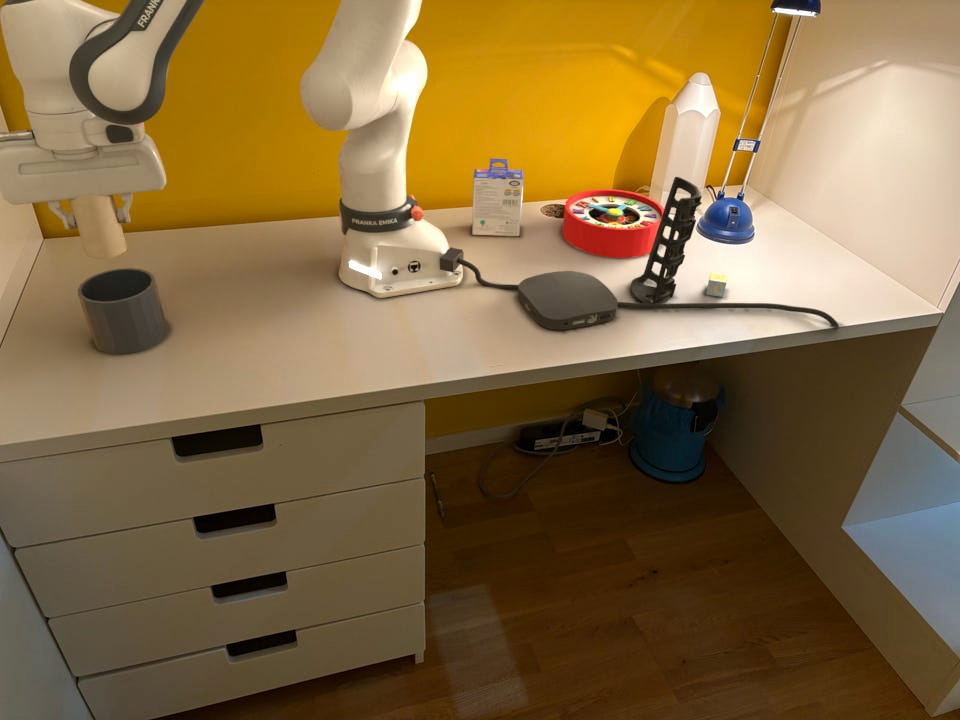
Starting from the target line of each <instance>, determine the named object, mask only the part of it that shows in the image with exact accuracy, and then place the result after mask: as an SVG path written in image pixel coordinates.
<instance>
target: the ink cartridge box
mask: <svg viewBox="0 0 960 720" xmlns="http://www.w3.org/2000/svg"><path fill="white" fill-rule="evenodd" d="M497 163H499V164H504V166H493V164H497ZM488 166H489V167H488V168H486V169H485V168H474V171H473V177H472V178H473V179H472V180H473V181H472V225H471V226H472V228H471V235H474V236H500V237H501V236H502V237H503V236H504V237H519V236H520V234H521V233H520V231H521V223H522V211H523V198H524V196H523V194H524V173H523V169H509V159H508V158H489V165H488Z"/></svg>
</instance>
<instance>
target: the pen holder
mask: <svg viewBox="0 0 960 720" xmlns="http://www.w3.org/2000/svg"><path fill="white" fill-rule="evenodd" d="M77 296H78V299H79V302H80V305H81V308H82V311H83V314H84V317H85V320H86V322H87V326H88V329H89V332H90V334H91V338H92V341H93V343H94V345H95V347H96V348H97V349H98V350H99V351H101V352H103V353H106V354H111V355H112V354H113V355H129V354H135V353H138V352H142V351H145V350H147V349H150V348H152V347H154V346H156V345H157V344H159V343H160V342H162V341H163V339H164V338H165V337H166V336H167V334H168V324H167V319H166V316H165V312H164V309H163V305H162V301H161V297H160V293H159V289H158V286H157V282H156V279H155V276H154V274H152V273H151V272H150V271H148V270H145V269H141V268H135V267H124V268H123V267H122V268H115V269H110V270H105V271H102V272H99V273H96V274H93V275H92V276H90V277H88V278H86V279H85V280H84V281H83V282H81V283H80V284H79V286H78V288H77Z"/></svg>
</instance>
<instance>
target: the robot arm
mask: <svg viewBox="0 0 960 720" xmlns="http://www.w3.org/2000/svg"><path fill="white" fill-rule="evenodd" d="M205 1H206V0H129V1H128V3H127V4H126V6H125V7H124V9H123V11H122V12H121V13H117V12H113V11H110V10H106V9H103V8H100V7H98V6H95V5H94V4H90V3H88V2H86V1H83V0H5V1H4V2H3V4H2V6H1V7H0V27H1V31H2V37H3V40H4V45H5V49H6V52H7V55H8V59H9V62H10V65H11V69H12V72H13V74H14V76H15V78H17V80H18V82H19V83H20V86H21V88H22V91H23V92H22V93H23V105H24V108H25V112H26V115H27V118H28V122H29V124H30V127H31V129H21V130H15V131H0V192H1V195H2V198H3V199H4V200H5V201H6V202H8V203H9V204H11V205H13V206H17V205H26V204H27V205H28V204H35V203H36V204H37V203H47V206H48V209H49V210H50V211H51V212H52V213H54V214H55V215H56V216H57V217H58V218H59V219H60V220H61V221H62V224H63V226H64V229H65V230H66V231H67V230H68V231H69V230H74V229H78V227H77V224H76V221H75V218H74V215H73V212H68V211H67V210H66V209H65V208H64V207H63V206H62V201H66V200H68V201H69V199H76V198H78V197H80V196H82V195H98V196H108V195H113V196H117V195H120V199H121V201H122V202H123V205H122V207H116V208H117V212H116V214H117V218H118V221H119V224H121V225H122V224H129V223H130V224H131V215H130V209H131V206H132V204H133V200H134V194H137V193H148V192H156V191H163V190H164V188H165V186H166V185H167V181H168V180H167V174H166V169H165V167H164V163H163V160H162V157H161V155H160V152H159V149H158V147H157V145H156V143H155V141H154V140H153V138H152V137H151V136H150V135H149V134H147V133H146V130H145V129H146V127H145V122H147V121H149V120H151V119H152V118H153V117H154V116H155V115H157V113H159V111H160V109H161V108H162V106H163V103H164V101H165V98H166V97H165V95H166V89H167V79H168V75H169V69H170V65H171V64H170V63H171V60H172V57H173V54H174V52H175V51H176V49H177V47H178V45H179V44H180V42H181V40H182V39H183V37H184V35H185V34H186V33H187V31H188V29H189V27H190V25H191V24H192V22H193V21H194V20H195V17H196V16H197V14H198V13H199V11H200V9H201V8H202V6H203V5H204V3H205ZM422 4H423V0H340V3H339V6H338V9H337V11H336V14H335V17H334V18H333V21H332V24H331V27H330V28H329V31H328V33H327V36H326V38H325V40H324V42H323V45H322V46H321V49H320V51H319V52H318V54H317V55H316V58H315V59H314V61H313V62H312V63H311V64H310V65H309V67H308V68H307V69H306V70H305V72H304V73H302V74H303V75H302V77H301V79H300V82H299V83H300V84H299V94H300V95H299V96H300V100H301V105H302V106H303V109H304V111H305V112H306V114H307V116H308V117H309V118H310V120H311V121H312V122H313V123H314V124H315V125H317V126H318V127H320V128H321V129H323V130H326V131H329V132H330V131H331V132H339V131H347V130H348V132H347V135H346V138H345V140H344V142H342V143H343V144H342V145H341V147H340V150H339V153H338V157H337V161H338V163H337V164H338V165H337V166H338V175H339V186H340V199H339V203H338V204H339V206H338V213H339V214H338V215H339V223H340V229H341V232H342V251H341V260H340V265H339V270H338V277H339V279H340V281H342V283H344V284H345V285H347V286H348V287H351V288H353V289H355V290H360V291H364V292H366V293H368V294H370V295H372V296H373V297H375V298H378V299H383V298H391V297H397V296H401V295H403V296H404V295H408V294H415V293H421V292H426V291H432V290H439V289H444V288H451V287H456V286H458V285H460V283H461V282H462V280H463V277H464V269H463V266H464V267H466V268H467V269H469V270H471V271H472V272H473V273H474V276H475V280H476V281H477V283H478V284H479V285H481V286H483V287H486V288H493V289H499V290H508V291H518V286H519V284H499V283H491V282H489V281H487V280H484V279H483V278H482V277H481V272H480V269H479V268H478V266H477V267H476V265H474V264H473V263H471V262H470V261H467V260H465V259H464V249H461V248H455V247H451V246H450V245H449V242H448V239H447V238H446V236H445V234H444V232H442V230H441V229H440V228H438V227H437V226H435V225H433V224H432V223H430V222H429V221H427V220H426V219H424V212H423V209H422V207H420V206H419V202H418V201H417V200H416V198H415V196H414V195H413V194H412V193H411V194H410V196H409V195H408V194H407V150H408V144H409V137H410V132H411V127H412V123H413V120H414V119H413V118H414V114H415V109H416V105H417V103H418V100H419V97H420V95H421V93H422V92H423V90H424V88H425V87H426V84H427V80H428V66H427V61H426V57H425V56H424V54H423V53H422V51H421V49H420V48H419V46H417V45H416V44H415V43H413V42H412V41H410V40H408V39H406V37H407V35H408V34H409V32H410V31H411V30H412V29H413V28H414V26H415V24H416V23H417V20H418V19H419V16H420V12H421V7H422ZM617 308H623V309H625V308H626V309H645V310H648V309H650V310H679V309H680V310H683V309H684V310H685V309H686V310H687V309H688V310H689V309H691V310H692V309H765V310H766V309H768V310H780V311H787V312H794V313H800V314H801V313H803V314H810V315H815V316H817V317H821V318H822V319H824V320H826V321H827V322H828V323H829V324H830V325H831V326H832V327H833V328H839V327H840V326H839V323H838V322H837V320H836V319H835V318H834V317H832V316H831V314H829V313H827V312H825V311H823V310H820V309H817V308H812V307H804V306H796V305H795V306H794V305H788V304H781V303H773V302H772V303H770V302H684V303H683V302H681V303H679V302H678V303H677V302H676V303H674V302H672V303H667V302H664V303H655V304H652V303H639V302H630V301H629V302H627V301H618V306H617Z"/></svg>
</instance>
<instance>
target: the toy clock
mask: <svg viewBox="0 0 960 720" xmlns="http://www.w3.org/2000/svg"><path fill="white" fill-rule="evenodd" d="M664 208H665V207H664V206H663V205H662V204H661V203H659V202H658V201H656V200H655V199H652V198H651V197H648V196H646V195H643V194H640V193H636V192H632V191H629V190H628V191H627V190H621V189H609V188H601V189H600V188H599V189H590V190H584V191H580V192H577V193H575V194H572V195H570V196H569V197H568V198H567V200H566V201H565V203H564V211H563V222H562V231H561V232H562V233H561V234H562V237H563V238H564V240H565V241H566V242H567V243H568V244H569V245H570V246H572V247H574V248H575V249H578V250H579V251H583V252H585V253H587V254H590V255H591V254H592V255H595V256H598V257H599V256H600V257H606V258H612V259H613V258H615V259H628V258H636V257H637V258H638V257H643V256H646V255H650V252H651V249H652V246H653V243H654V240H655V236H656V233H657V230H658V227H659V224H660V221H661V218H662V215H663V211H664ZM660 246H661V244H660V245H659V247H660Z"/></svg>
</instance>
